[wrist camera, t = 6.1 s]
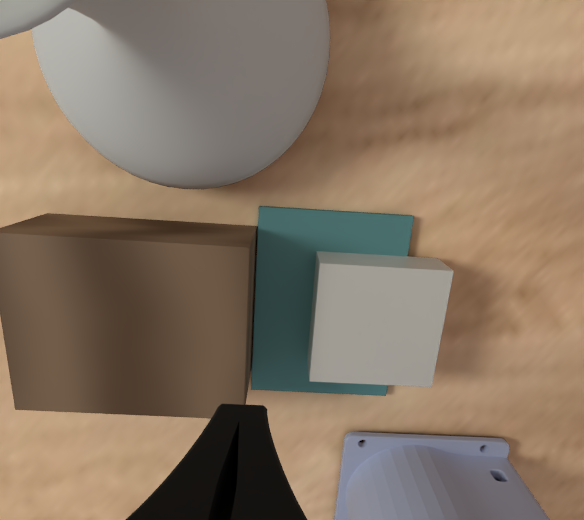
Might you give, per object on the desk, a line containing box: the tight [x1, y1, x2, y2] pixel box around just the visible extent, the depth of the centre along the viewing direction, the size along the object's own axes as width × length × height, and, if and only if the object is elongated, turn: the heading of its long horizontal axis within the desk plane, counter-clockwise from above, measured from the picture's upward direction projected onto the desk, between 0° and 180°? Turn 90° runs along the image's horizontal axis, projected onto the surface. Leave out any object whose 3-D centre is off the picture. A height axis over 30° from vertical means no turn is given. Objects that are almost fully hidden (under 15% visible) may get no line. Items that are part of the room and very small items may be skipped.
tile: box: [307, 251, 454, 387], centre depth 20 cm, size 6×6×2 cm
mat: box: [251, 206, 414, 396], centre depth 21 cm, size 7×10×1 cm
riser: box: [0, 213, 256, 418], centre depth 19 cm, size 10×8×4 cm
